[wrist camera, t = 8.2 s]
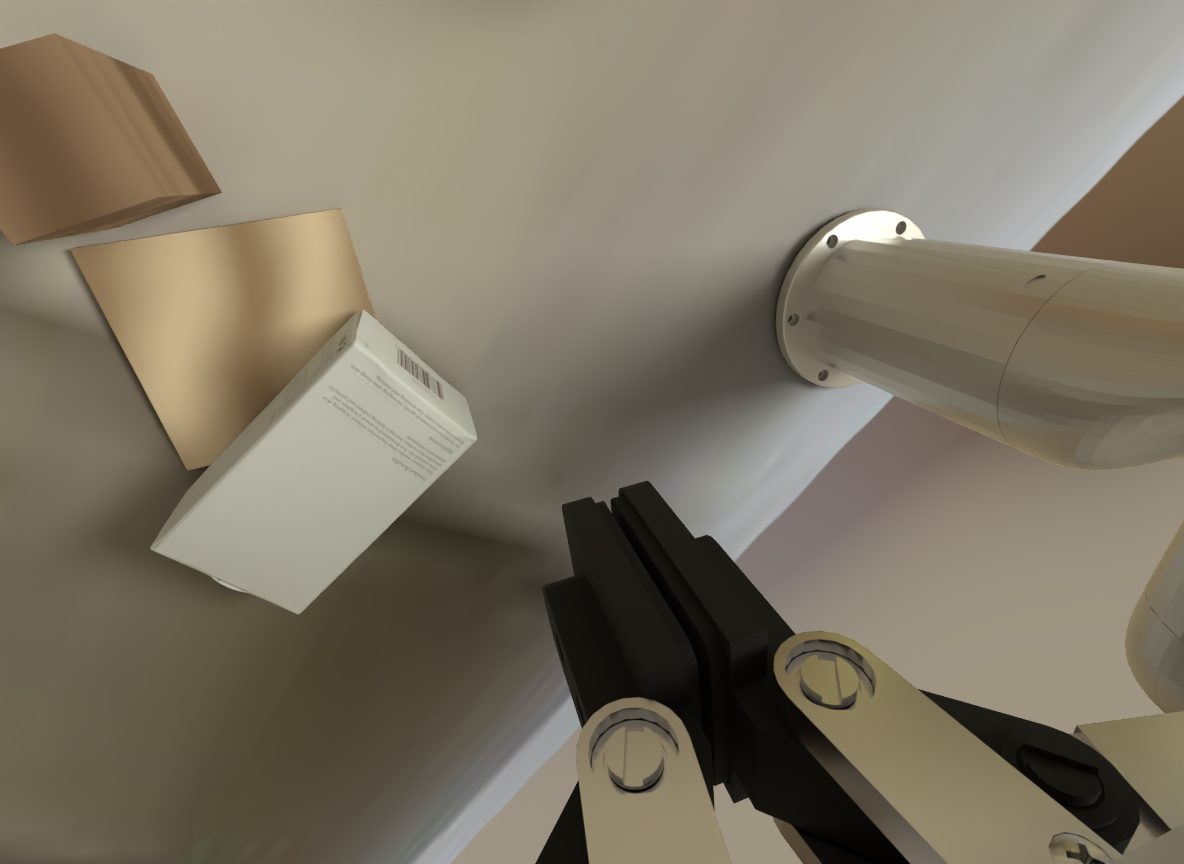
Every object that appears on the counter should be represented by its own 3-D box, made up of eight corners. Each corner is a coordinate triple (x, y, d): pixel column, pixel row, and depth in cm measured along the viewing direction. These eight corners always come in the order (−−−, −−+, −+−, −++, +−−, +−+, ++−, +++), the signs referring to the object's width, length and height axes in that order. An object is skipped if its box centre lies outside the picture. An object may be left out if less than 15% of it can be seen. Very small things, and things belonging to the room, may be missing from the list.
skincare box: (363, 304, 30) (178, 482, 31) (355, 340, 25) (135, 550, 26) (473, 401, 34) (307, 553, 36) (486, 449, 29) (292, 623, 31)
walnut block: (152, 74, 24) (54, 33, 17) (221, 192, 27) (159, 196, 20) (34, 110, 24) (-118, 82, 17) (115, 227, 26) (13, 245, 19)
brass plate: (341, 208, 28) (340, 208, 28) (405, 417, 34) (405, 419, 34) (74, 248, 26) (70, 249, 26) (189, 467, 31) (187, 470, 31)
